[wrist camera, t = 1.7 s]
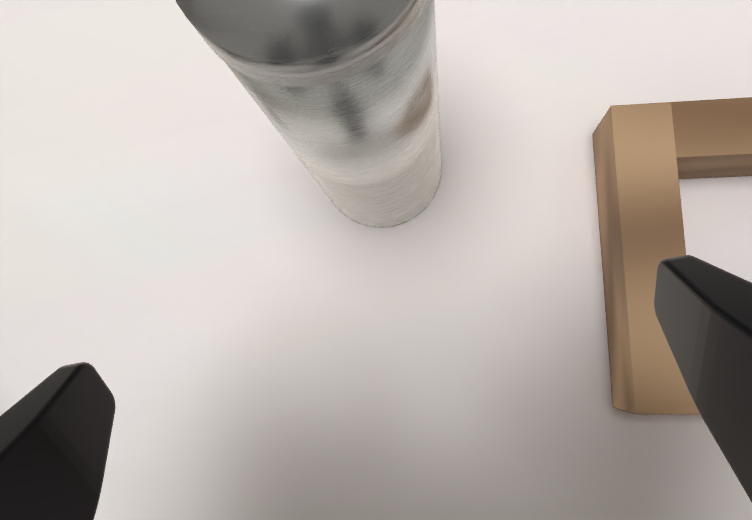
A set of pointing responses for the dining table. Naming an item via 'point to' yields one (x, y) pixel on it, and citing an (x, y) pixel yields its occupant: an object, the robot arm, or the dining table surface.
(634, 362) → the frame
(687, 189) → the dining table surface
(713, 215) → the dining table surface
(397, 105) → the metal canister
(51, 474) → the robot arm
